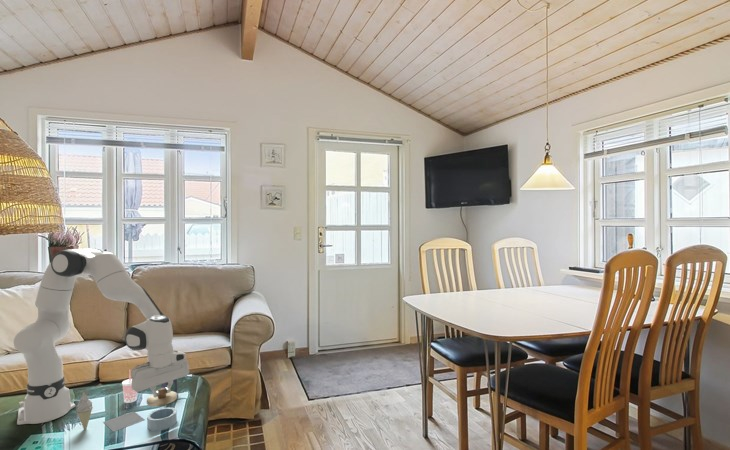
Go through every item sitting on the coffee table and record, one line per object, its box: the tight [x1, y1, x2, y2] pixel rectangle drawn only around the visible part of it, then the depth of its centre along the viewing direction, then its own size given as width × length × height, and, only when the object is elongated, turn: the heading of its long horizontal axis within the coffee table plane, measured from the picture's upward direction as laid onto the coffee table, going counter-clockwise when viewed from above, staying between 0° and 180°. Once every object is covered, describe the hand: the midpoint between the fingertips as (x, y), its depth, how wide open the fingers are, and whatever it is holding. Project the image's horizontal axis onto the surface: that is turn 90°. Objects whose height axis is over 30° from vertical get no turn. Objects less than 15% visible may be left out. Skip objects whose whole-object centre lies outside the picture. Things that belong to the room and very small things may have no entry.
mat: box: [103, 410, 145, 433], centre depth 156 cm, size 11×11×1 cm
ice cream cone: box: [75, 391, 94, 431], centre depth 151 cm, size 5×5×15 cm
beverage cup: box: [121, 369, 138, 404], centre depth 174 cm, size 6×6×14 cm
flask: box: [160, 379, 178, 394], centre depth 176 cm, size 9×3×11 cm, turn 172°
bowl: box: [146, 407, 178, 432], centre depth 154 cm, size 10×10×4 cm
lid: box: [146, 388, 178, 407], centre depth 154 cm, size 10×10×4 cm
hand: (162, 394), depth 154 cm, fingers closed on lid, 3 cm apart
